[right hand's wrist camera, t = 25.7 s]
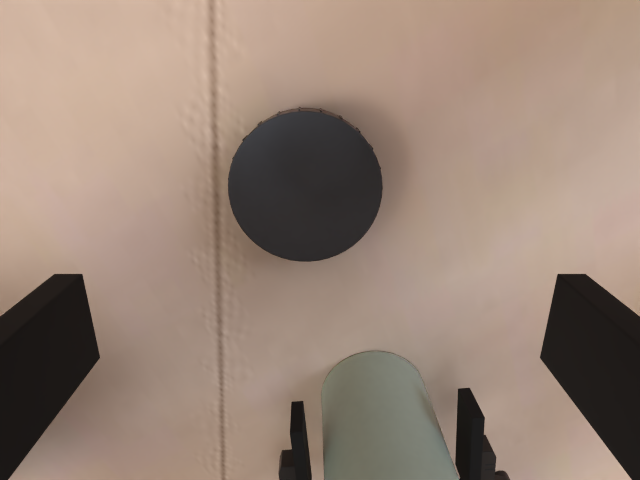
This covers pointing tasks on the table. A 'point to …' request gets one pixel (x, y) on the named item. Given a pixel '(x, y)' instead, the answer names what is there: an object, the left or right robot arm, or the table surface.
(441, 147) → the table surface
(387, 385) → the jar
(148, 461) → the table surface
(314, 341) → the table surface
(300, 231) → the lid
